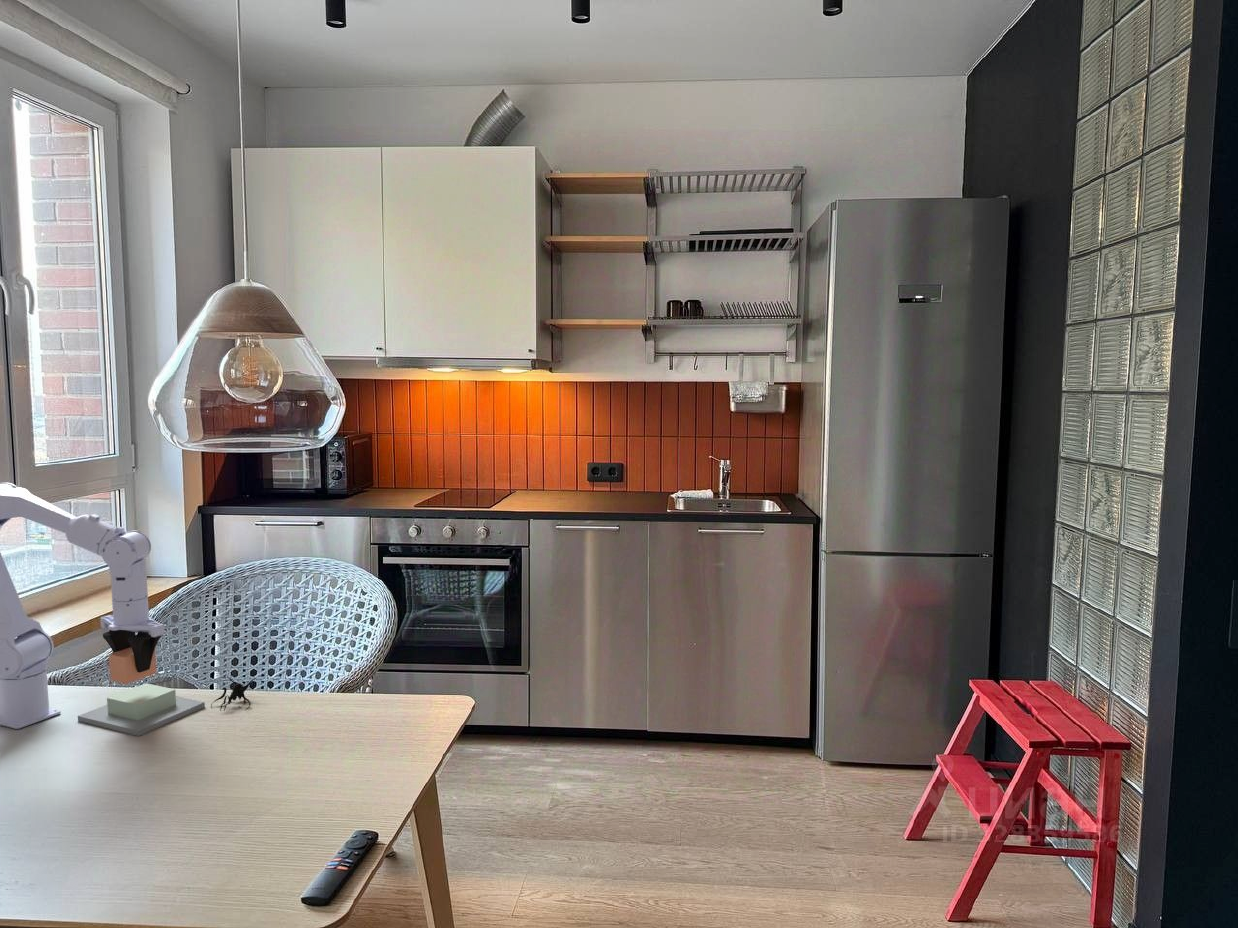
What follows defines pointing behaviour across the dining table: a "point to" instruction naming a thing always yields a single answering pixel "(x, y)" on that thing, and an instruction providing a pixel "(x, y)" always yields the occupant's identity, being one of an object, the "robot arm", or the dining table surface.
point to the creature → (235, 693)
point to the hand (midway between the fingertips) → (134, 668)
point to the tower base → (143, 723)
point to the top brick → (127, 667)
